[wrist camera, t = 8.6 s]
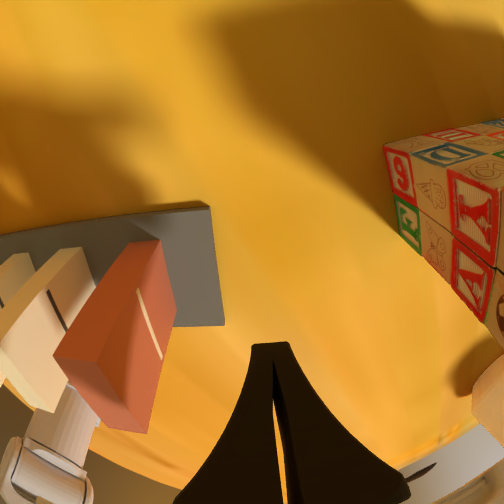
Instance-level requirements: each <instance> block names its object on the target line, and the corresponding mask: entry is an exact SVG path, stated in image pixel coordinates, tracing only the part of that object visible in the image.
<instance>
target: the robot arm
mask: <svg viewBox="0 0 504 504" xmlns="http://www.w3.org/2000/svg"><path fill="white" fill-rule="evenodd" d="M273 401H274V406H275V411H276V416H277V421H278V426H279V431H280V436H281V441H282V446H283V453H284V464H285V476H286V488H287V501H288V504H399V503H401V502H403V501H405V500H407V499H409V498H410V496H411V493H410V489H409V486H408V484H407V482H406V480H405V478H404V477H403V475H402V474H401V473H400V472H398V471H397V470H395V469H394V468H392V467H391V466H389V465H388V464H386V463H385V462H384V461H382V460H381V459H379V458H378V457H377V456H376V455H374V454H373V453H372V452H371V451H369V450H368V449H367V448H366V447H365V446H364V445H363V444H361V443H360V442H359V441H358V440H357V439H356V438H355V437H354V436H353V435H352V434H350V433H349V431H348V430H347V429H346V428H345V427H344V426H343V425H342V424H341V423H340V422H339V421H338V420H337V419H336V417H335V416H334V415H333V414H332V413H331V412H330V410H329V409H328V408H327V407H326V405H325V404H324V403H323V401H322V400H321V399H320V397H319V396H318V394H317V393H316V392H315V390H314V389H313V387H312V386H311V384H310V382H309V381H308V379H307V378H306V376H305V374H304V373H303V371H302V369H301V367H300V366H299V364H298V362H297V360H296V358H295V356H294V354H293V351H292V349H291V347H290V344H289V343H288V342H287V341H285V342H274V343H260V344H254V345H252V346H251V358H250V363H249V367H248V372H247V375H246V378H245V382H244V385H243V388H242V391H241V394H240V396H239V399H238V401H237V404H236V406H235V409H234V411H233V413H232V416H231V418H230V420H229V422H228V424H227V426H226V428H225V430H224V432H223V434H222V435H221V437H220V439H219V440H218V442H217V444H216V446H215V447H214V449H213V450H212V452H211V454H210V455H209V457H208V458H207V459H206V461H205V462H204V464H203V465H202V466H201V468H200V469H199V470H198V472H197V473H196V475H195V476H194V477H193V478H192V479H191V481H190V482H189V483H188V484H187V485H186V486H185V488H184V489H183V490H182V491H181V492H180V493H179V494H178V495H177V496H176V498H175V500H174V501H173V504H283V497H282V489H281V481H280V473H279V464H278V456H277V447H276V439H275V430H274V421H273ZM100 420H101V419H100V418H99V417H98V416H97V414H96V413H95V412H94V411H93V410H92V409H91V407H90V406H89V405H88V404H87V403H86V401H85V400H84V399H83V398H82V396H81V395H80V394H79V393H78V391H77V390H76V389H75V387H74V386H73V385H72V383H71V382H69V381H68V382H67V384H66V386H65V389H64V391H63V393H62V395H61V398H60V400H59V402H58V404H57V407H56V409H55V412H54V413H51V412H48V411H45V410H42V409H39V408H36V410H35V412H34V415H33V417H32V419H31V422H30V424H29V426H28V429H27V431H26V434H25V436H24V438H22V439H21V438H19V437H16V438H15V437H14V438H11V440H10V441H9V443H8V445H7V448H6V450H5V453H4V455H3V458H2V461H1V465H0V494H1V496H2V497H3V499H4V500H5V502H6V503H7V504H92V503H93V487H92V485H91V483H90V480H89V479H88V478H87V477H86V474H87V472H86V471H84V470H82V468H83V465H84V461H85V458H86V454H87V450H88V447H89V443H90V440H91V437H92V433H93V430H94V427H99V423H100ZM12 486H13V487H15V488H16V489H18V490H19V491H21V492H23V493H25V494H26V495H28V496H30V497H32V498H33V499H35V500H36V503H34V502H32V501H31V500H29V499H27V498H25V497H23V496H22V495H20V494H18V493H17V492H15V490H14V489H13V487H12ZM431 504H504V458H503V459H501V460H500V461H499V462H498V463H496V464H495V465H493V466H492V467H491V468H489V469H487V470H486V471H484V472H483V473H481V474H480V475H479V476H477V477H476V478H474V479H472V480H471V481H469V482H468V483H466V484H465V485H464V486H462V487H461V488H459V489H457V490H456V491H454V492H452V493H450V494H448V495H447V496H445V497H443V498H441V499H439V500H437V501H435V502H433V503H431Z"/></svg>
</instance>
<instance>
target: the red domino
mask: <svg viewBox="0 0 504 504" xmlns="http://www.w3.org/2000/svg"><path fill="white" fill-rule="evenodd" d="M176 312H177V307H176V304H175V300H174V296H173V292H172V288H171V284H170V280H169V276H168V271H167V267H166V263H165V258H164V254H163V249H162V244H161V240H152V241H141V242H130V243H129V244H128V245H127V246H126V247H125V249H124V250H123V251H122V253H121V254H120V255H119V256H118V258H117V259H116V260H115V262H114V263H113V264H112V266H111V267H110V268H109V270H108V271H107V272H106V274H105V275H104V277H103V278H102V279H101V281H100V282H99V284H98V285H97V286H96V288H95V289H94V291H93V292H92V294H91V295H90V296H89V298H88V299H87V301H86V302H85V304H84V305H83V307H82V308H81V310H80V311H79V313H78V314H77V316H76V317H75V319H74V321H73V322H72V324H71V325H70V327H69V329H68V330H67V332H66V333H65V335H64V337H63V338H62V340H61V342H60V343H59V345H58V347H57V348H56V350H55V352H54V354H53V355H52V356H53V358H54V359H55V361H56V362H57V364H58V365H59V367H60V368H61V370H62V371H63V372H64V374H65V375H66V377H67V378H68V379H69V381H70V382H71V383H72V385H73V386H74V387H75V389H76V390H77V391H78V393H79V394H80V395H81V396H82V398H83V399H84V400H85V401H86V403H87V404H88V405H89V406H90V407H91V409H92V410H93V411H94V412H95V413H96V414H97V416H98V417H99V418H100V419H101V420H102V421H103V422H104V423H105V425H106V426H107V427H108V428H113V429H118V430H124V431H130V432H136V433H143V434H147V431H148V426H149V421H150V417H151V412H152V407H153V403H154V398H155V394H156V390H157V385H158V381H159V377H160V373H161V369H162V365H163V361H164V357H165V353H166V349H167V345H168V341H169V338H170V334H171V330H172V327H173V323H174V319H175V316H176Z"/></svg>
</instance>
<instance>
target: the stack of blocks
mask: <svg viewBox="0 0 504 504" xmlns="http://www.w3.org/2000/svg"><path fill="white" fill-rule="evenodd" d="M383 149H384V153H385V158H386V162H387V167H388V171H389V176H390V181H391V186H392V191H393V193H394V199H395V205H396V212H397V219H398V227H399V235H400V236H401V237H402V238H403V239H404V240H405V241H406V242H407V243H408V244H409V245H410V246H411V247H412V248H413V249H414V250H415V251H416V252H417V253H418V254H419V255H420V256H423V257H424V258H425V260H426V261H427V262H428V263H429V264H430V265H431V266H432V267H433V268H434V269H435V270H436V271H437V272H438V273H439V274H440V275H441V276H442V277H443V278H444V279H445V280H446V281H447V283H448V284H450V285H451V287H452V289H453V290H454V291H455V293H456V294H457V295H458V296H459V297H460V299H461V300H462V301H463V302H465V304H466V305H467V306H468V308H469V309H470V310H471V311H473V313H474V315H475V316H476V317H477V318H478V320H479V321H480V322H481V323H483V324H484V325H485V326H486V327H487V328H488V330H489V331H490V332H491V334H492V335H493V336H494V338H495V339H496V340H497V342H498V343H499V345H500V346H501V347H502V349H503V350H504V118H501V119H500V120H494V121H488V122H483V123H480V124H474V125H470V126H465V127H461V128H456V129H454V128H451V129H446V130H442V131H438V132H433V133H429V134H425V135H422V136H415V137H411V138H407V139H403V140H399V141H396V142H392V143H388V144H385V145H383Z"/></svg>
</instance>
